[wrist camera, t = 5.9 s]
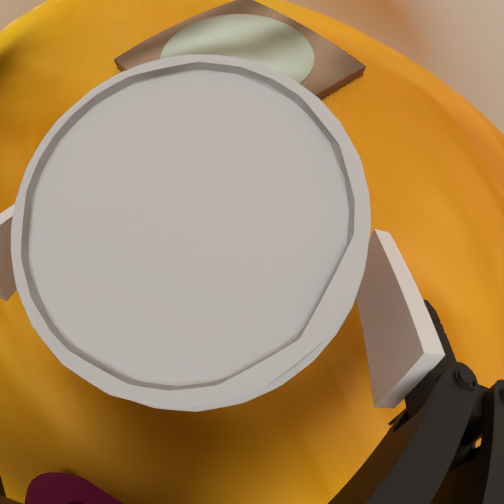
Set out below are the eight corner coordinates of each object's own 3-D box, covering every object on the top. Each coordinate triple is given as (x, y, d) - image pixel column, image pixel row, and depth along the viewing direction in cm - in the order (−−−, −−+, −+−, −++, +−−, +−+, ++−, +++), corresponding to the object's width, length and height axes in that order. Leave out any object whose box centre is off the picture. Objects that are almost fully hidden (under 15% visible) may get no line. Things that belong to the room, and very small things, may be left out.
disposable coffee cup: (186, 380, 16) (93, 478, 4) (117, 244, 18) (-11, 155, 6) (323, 302, 17) (457, 273, 5) (245, 174, 19) (251, 15, 7)
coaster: (117, 67, 21) (113, 57, 20) (245, 5, 24) (245, -5, 22) (224, 166, 19) (223, 156, 17) (362, 75, 21) (366, 64, 20)
